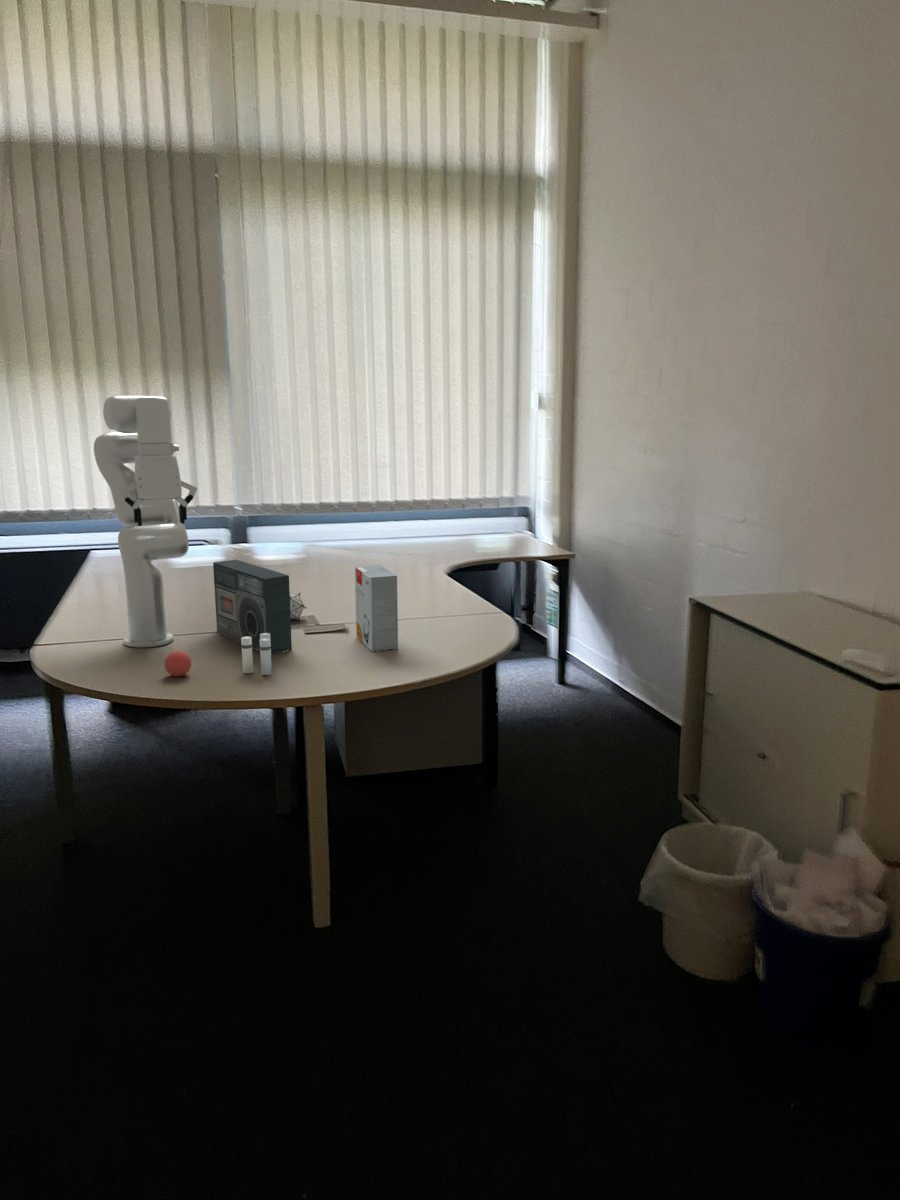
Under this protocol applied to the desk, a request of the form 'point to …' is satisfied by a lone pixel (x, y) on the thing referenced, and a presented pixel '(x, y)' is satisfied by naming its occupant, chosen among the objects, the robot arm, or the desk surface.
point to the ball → (177, 663)
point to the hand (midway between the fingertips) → (161, 524)
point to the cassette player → (252, 603)
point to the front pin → (247, 654)
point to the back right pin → (265, 656)
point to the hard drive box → (376, 607)
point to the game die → (296, 606)
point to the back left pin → (265, 635)
